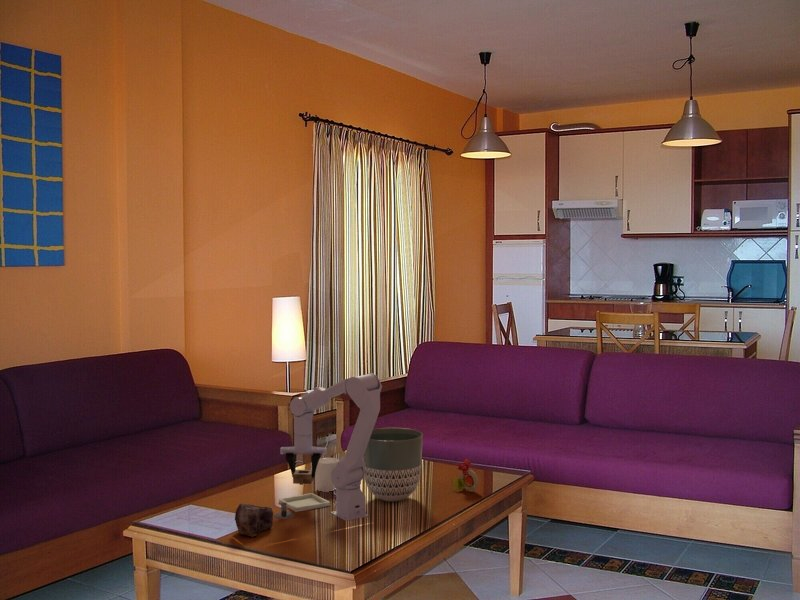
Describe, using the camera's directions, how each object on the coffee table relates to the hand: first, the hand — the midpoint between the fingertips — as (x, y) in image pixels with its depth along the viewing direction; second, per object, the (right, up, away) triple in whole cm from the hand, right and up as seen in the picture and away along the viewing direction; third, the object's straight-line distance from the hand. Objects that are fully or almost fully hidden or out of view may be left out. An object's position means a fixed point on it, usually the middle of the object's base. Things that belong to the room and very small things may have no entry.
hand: (303, 476), depth 264 cm
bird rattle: (+53, -8, +16) cm, 56 cm away
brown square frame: (0, -1, 0) cm, 1 cm away
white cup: (+6, -8, +18) cm, 21 cm away
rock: (-12, -11, -25) cm, 30 cm away
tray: (0, -9, +1) cm, 9 cm away
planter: (+28, -9, +7) cm, 30 cm away
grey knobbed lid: (-5, -10, -11) cm, 15 cm away
